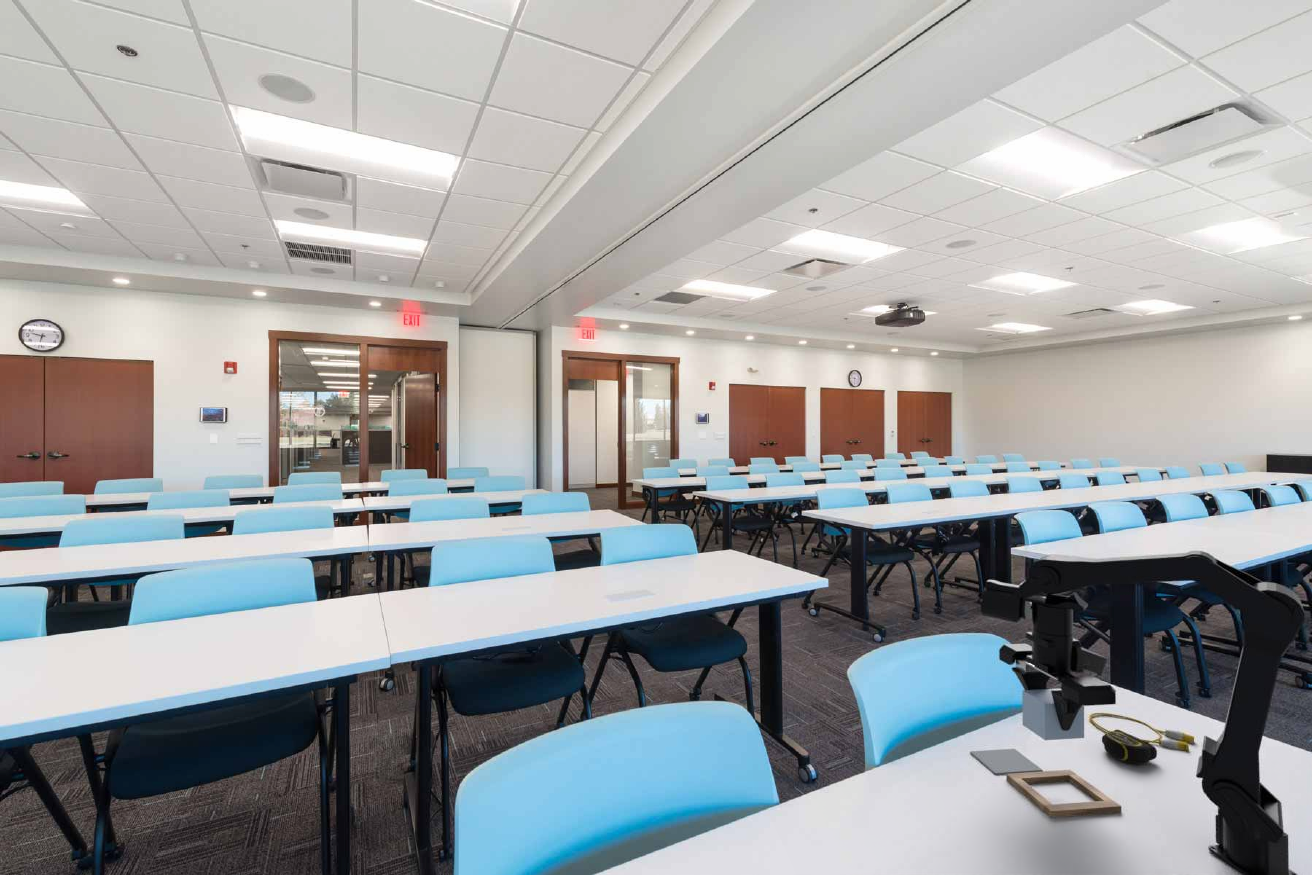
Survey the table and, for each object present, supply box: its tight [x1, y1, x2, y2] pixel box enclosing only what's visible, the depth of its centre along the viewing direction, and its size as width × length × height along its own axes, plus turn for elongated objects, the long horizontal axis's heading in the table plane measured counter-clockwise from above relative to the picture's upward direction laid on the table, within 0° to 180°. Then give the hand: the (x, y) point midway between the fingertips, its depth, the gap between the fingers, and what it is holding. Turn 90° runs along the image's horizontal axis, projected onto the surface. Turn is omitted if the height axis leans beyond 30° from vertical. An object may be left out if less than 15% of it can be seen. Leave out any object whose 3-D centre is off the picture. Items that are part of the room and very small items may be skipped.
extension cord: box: [1089, 712, 1195, 752], centre depth 114 cm, size 12×16×2 cm
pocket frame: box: [1006, 769, 1122, 818], centre depth 94 cm, size 10×12×1 cm
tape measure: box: [1101, 729, 1158, 765], centre depth 105 cm, size 7×7×4 cm
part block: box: [1021, 688, 1085, 741], centre depth 96 cm, size 5×7×6 cm
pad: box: [969, 748, 1044, 776], centre depth 104 cm, size 7×9×1 cm
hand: (1052, 721), depth 96 cm, fingers closed on part block, 5 cm apart
